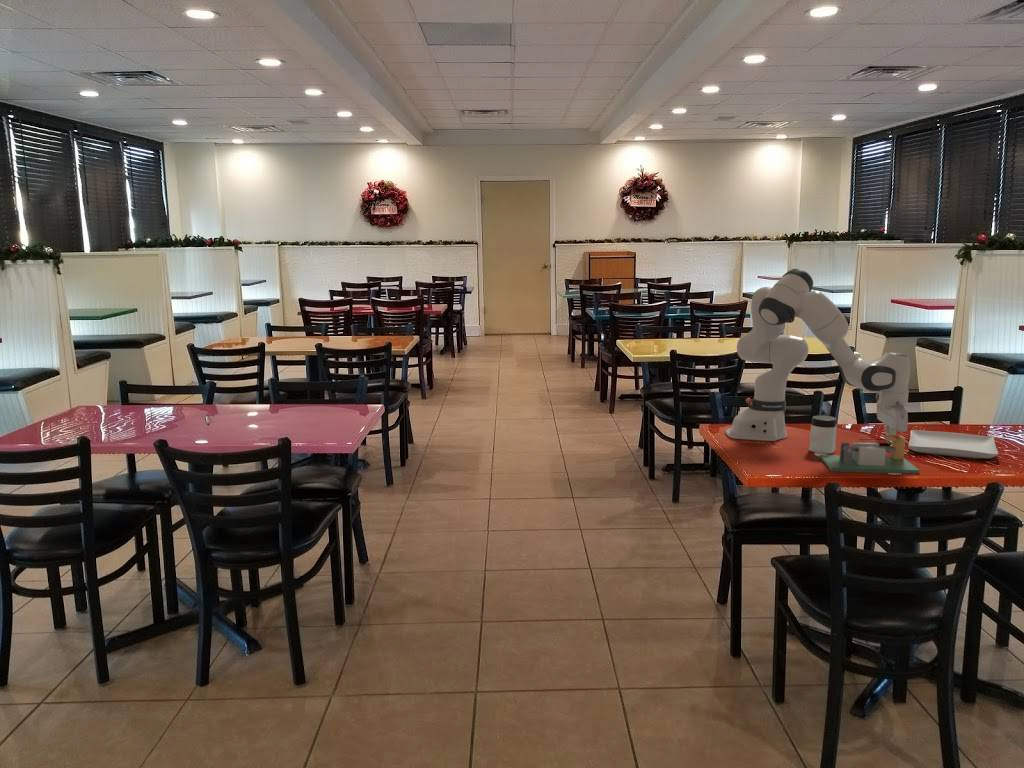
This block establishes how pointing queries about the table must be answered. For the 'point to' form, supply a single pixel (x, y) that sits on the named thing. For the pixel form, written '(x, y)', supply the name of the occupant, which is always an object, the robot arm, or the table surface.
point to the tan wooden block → (896, 446)
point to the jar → (823, 434)
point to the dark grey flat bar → (888, 449)
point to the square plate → (953, 444)
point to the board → (864, 468)
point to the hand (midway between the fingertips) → (890, 438)
